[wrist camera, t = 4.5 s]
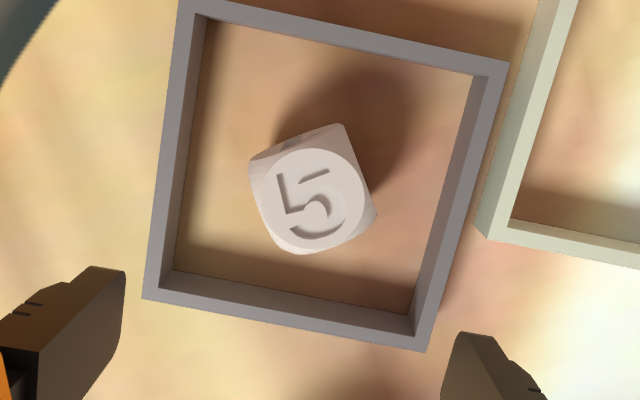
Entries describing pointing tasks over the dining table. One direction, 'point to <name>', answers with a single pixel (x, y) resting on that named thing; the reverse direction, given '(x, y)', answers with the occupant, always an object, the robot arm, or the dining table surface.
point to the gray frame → (289, 307)
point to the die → (311, 191)
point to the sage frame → (518, 143)
